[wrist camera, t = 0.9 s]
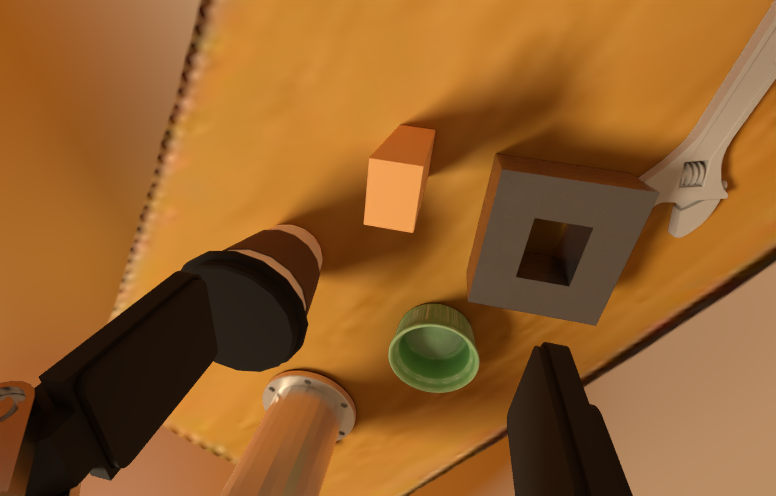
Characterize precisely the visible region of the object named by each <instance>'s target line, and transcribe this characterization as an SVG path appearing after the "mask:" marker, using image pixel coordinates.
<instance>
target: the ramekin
mask: <svg viewBox="0 0 776 496" xmlns="http://www.w3.org/2000/svg"><path fill="white" fill-rule="evenodd" d="M388 358H389V363H390V366H391V368H392V369H393V371H394V373H395V374H396V375H397V376H398V377H399V378H400V379H401V380H402V381H403V382H405V383H406V384H408V385H410V386H411V387H413V388H416V389H419V390H421V391H425V392H431V393H445V392H451V391H455V390H458V389H460V388H462V387H464V386H466V385H467V384H468V383H470V382H471V381H472V380H473V379H474V377H475V376H476V374H477V372H478V369H479V363H480V360H479V354H478V350H477V348H476V346H475V340H474V334H473V331H472V327H471V325H470V323H469V321H468V320H467V319H466V318H465V316H464V315H463V314H461V313H460V312H459V311H457V310H456V309H454V308H452V307H449V306H446V305H442V304H423V305H419V306H417V307H415V308H413V309H411V310H410V311H408V312H407V313H406V314H405V315H404V317H403V318H402V319H401V321H400V323H399V326H398V329H397V332H396V334H395V336H394V338H393V339H392V341H391V344H390V346H389V350H388Z"/></svg>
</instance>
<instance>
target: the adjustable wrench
mask: <svg viewBox="0 0 776 496" xmlns="http://www.w3.org/2000/svg"><path fill="white" fill-rule="evenodd" d="M775 79H776V0H774V2H773V3H772V5H771V7H770V8H769V10H768V11H767V13H766V15H765V16H764V18H763V19H762V21H761V22H760V24H759V26H758V27H757V29H756V30H755V32H754V34H753V35H752V37H751V38H750V40H749V41H748V43H747V45H746V46H745V48H744V49H743V51H742V53H741V54H740V56H739V57H738V59H737V61H736V62H735V64H734V65H733V67H732V68H731V70H730V72H729V73H728V75H727V76H726V78H725V80H724V81H723V83H722V84H721V86H720V87H719V89H718V91H717V92H716V94H715V95H714V97H713V99H712V100H711V102H710V103H709V105H708V107H707V108H706V110H705V111H704V113H703V114H702V116H701V118H700V119H699V121H698V122H697V124H696V126H695V127H694V129H693V130H692V131H691V133H690V134H689V135H688V137H687V138H686V139H685V140H684V141H683V142H682V143H681V144H680V145H679V146H678V147H677V148H676V149H675V150H673V151H672V152H671V153H670V154H669V155H668V156H666V157H665V158H664V159H663V160H662V161H660V162H659V163H658V164H657V165H655V166H654V167H653V168H651V169H650V170H649V171H647V172H646V173H644V174H643V175H641V176H640V177H639V178H638V179H640V180H641V181H643V182H644V183H646V184H647V185H649V186H650V187H652V188H653V189H655V190H656V191H658V192H659V193H660V194H659V196H658V198H657V200H656V203H655V205H654V206H656V205H658V204H660V203H665V202H675V203H676V204H677V205H674V206H673V208H672V213H671V218H670V223H669V227H668V232H669V233H670V234H672V235H673V236H674V237H683V236H685V235H687V234H689V233H690V232H692V231H693V230H695V229H696V228H697V227H699V226H700V225H701V224H702V223H703V222H704V221H705V220H706V219H707V218H708V217H709V216H710V214H711V213H712V212H713V210H714V209H715V208H716V206H717V205H718V203H719V201H720V199H726V198H728V194H727V193H726V191H725V189H726V188H727V182H726V181H725V180H721V164H722V159H723V156H724V154H725V152H726V149H727V147H728V145H729V144H730V142H731V140H732V139H733V137H734V136H735V134H736V133H737V132H738V130H739V129H740V128H741V126H742V125H743V123H744V122H745V121H746V119H747V118H748V116H749V115H750V114H751V112H752V111H753V110H754V108H755V107H756V105H757V104H758V103H759V101H760V100H761V98H762V97H763V96H764V94H765V93H766V92H767V90H768V89H769V87H770V86H771V85H772V83H773V82H774V80H775ZM692 161H694V162H692ZM697 161H700V162H697ZM686 162H687V163H686Z"/></svg>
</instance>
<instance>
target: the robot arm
mask: <svg viewBox="0 0 776 496" xmlns="http://www.w3.org/2000/svg"><path fill="white" fill-rule="evenodd" d="M217 352H218V346H217V340H216V335H215V329H214V323H213V318H212V312H211V306H210V301H209V295H208V289H207V284H206V282H205V281H203V280H202V277H201V276H200V275H198V274H194V273H189V272H184V271H177V272H175V273H173V274H172V275H171V276H170V277H168V278H167V279H166V280H164V281H163V282H162V283H160V284H159V285H158V286H156V287H155V288H154V289H153V290H151V291H150V292H149V293H147V294H146V295H145V296H143V297H142V298H141V299H140V300H138V301H137V302H136V303H134V304H133V305H132V306H130V307H129V308H128V309H126V310H125V311H124V312H123V313H121V314H120V315H119V316H117V317H116V318H115V319H113V320H112V321H111V322H109V323H108V324H107V325H106V326H104V327H103V328H102V329H100V330H99V331H98V332H96V333H95V334H94V335H93V336H91V337H90V338H89V339H87V340H86V341H85V342H83V343H82V344H81V345H80V346H79V347H77V348H76V349H74V350H73V351H72V352H70V353H69V354H68V355H66V356H65V357H64V358H63V359H61V360H60V361H59V362H57V363H56V364H55V365H53V366H52V367H51V368H49V369H48V370H47V371H45V372H44V373H43V374H42V375H40V376H39V379H40V380H41V382H42V383H40V384H39V385H38V386H37V387H35V388H33V387H32V385H31V384H29V383H26V382H23V381H8V382H3V383H0V496H79V493H80V486H81V481H82V480H83V479H84V478H85V477H86V476H87V474H89V472H90V474H91V475H92V476H96V477H99V478H103V479H107V480H112V479H113V478H114V476H115V475H116V474H117V473H118V471H119V470H120V469H121V468H125V467H127V466H128V465H129V464H130V463H131V462H132V461H133V460H134V459H135V457H136V456H137V455H138V454H139V452H140V451H141V450H142V449H143V447H144V446H145V445H146V443H148V441H149V440H150V439H151V437H152V436H153V435H154V434H155V433H156V431H157V430H158V429H159V428H160V426H161V425H162V424H163V423H164V421H165V420H166V419H167V418H168V417H169V415H170V414H171V413H172V412H173V410H174V409H175V408H176V407H177V405H178V404H179V403H180V402H181V400H182V399H183V398H184V397H185V395H186V394H187V393H188V392H189V390H190V389H191V388H192V387H193V386H194V384H195V383H196V382H197V381H198V379H199V378H200V377H201V376H202V374H203V373H204V372H205V371H206V369H207V368H208V367H209V366H210V364H211V363H212V362H213V361H214V359H215V357H216V355H217ZM262 399H263V405H264V408H265V411H266V413H265V415H264V417H263V418H262V420H261V422H260V424H259V426H258V427H257V429H256V431H255V433H254V435H253V436H252V438H251V440H250V442H249V444H248V446H247V447H246V449H245V451H244V453H243V455H242V456H241V458H240V460H239V462H238V464H237V466H236V467H235V469H234V471H233V473H232V475H231V476H230V478H229V480H228V482H227V484H226V486H225V488H224V489H223V491H222V493H221V495H220V496H319V494H320V490H321V487H322V484H323V481H324V478H325V475H326V472H327V469H328V466H329V462H330V459H331V456H332V453H333V450H334V447H335V444H336V441H338V440H341V439H342V438H344V437H346V436H347V435H348V434H349V433H350V432H351V430H352V429H353V427H354V423H355V420H356V408H355V405H354V403H353V401H352V399H351V398H350V396H349V395H348V393H347V392H346V391H345V390H344V389H343V388H342V387H341V386H339V385H338V384H337V383H335V382H334V381H332V380H330V379H328V378H327V377H324V376H322V375H319V374H316V373H312V372H309V371H288V372H283V373H281V374H279V375H276V376H275V377H274V378H272V379H271V380H270V382H269V383H268V384H267V386H266V388H265V390H264V392H263V397H262ZM507 430H508V438H509V446H510V455H511V464H512V472H513V479H514V489H515V496H633V495H632V493H631V490H630V487H629V485H628V483H627V480H626V477H625V474H624V472H623V469H622V467H621V464H620V461H619V459H618V456H617V454H616V451H615V448H614V446H613V443H612V440H611V438H610V435H609V433H608V430H607V428H606V425H605V423H604V420H603V417H602V415H601V413H600V411H599V409H598V408H597V407H596V406H595V405H591V404H589V402H588V399H587V396H586V393H585V391H584V388H583V385H582V382H581V379H580V377H579V374H578V371H577V368H576V365H575V363H574V360H573V357H572V354H571V352H570V349H569V348H568V347H567V346H563V345H558V344H553V343H547V342H544V343H543V344H542V345H541V347H539V346H535V347H534V349H533V351H532V353H531V356H530V358H529V361H528V363H527V366H526V368H525V371H524V373H523V376H522V378H521V381H520V383H519V386H518V388H517V391H516V393H515V396H514V398H513V401H512V403H511V406H510V408H509V411H508V415H507Z"/></svg>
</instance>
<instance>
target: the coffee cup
mask: <svg viewBox="0 0 776 496" xmlns="http://www.w3.org/2000/svg"><path fill="white" fill-rule="evenodd" d="M322 262H323V258H322V253H321V248H320V245H319V244H318V242H317V241H316V239H315V237H314V236H313V235H312V234H310V233H309V232H308V231H307V230H305V229H304V228H301V227H298V226H295V225H277V226H274V227H272V228H270V229H268V230H263V231H261V232H259V233H257V234H254V235H252V236H250V237H248V238H246V239H245V240H243V241H241V242H239V243H237V244H235V245H233V246H231V247H229V248H227V249H225V250H223V251H208V252H206V253H204V254H202V255H200V256H198V257H196V258H194V259H192V260H190V261H189V262H187V263H186V264H185V265H184V266H183V268H182V269H181V271H184V272H189V273H194V274H198V275H200V276H201V277H202V280H203V281H205V282H206V284H207V289H208V295H209V301H210V306H211V312H212V318H213V323H214V329H215V335H216V340H217V346H218V352H217V355H216V357H215V359H214V362H216V363H219V364H221V365H224V366H227V367H230V368H232V369H235V370H241V371H257V372H261V371H264V370H267V369H271V368H274V367H277V366H279V365H280V364H281V363H285V362H287V361H288V360H289V359H290V358H291V357H292V356H293V355H294V354H295V353H296V352H297V351H298V350H299V349H300V348H301V347H302V345H303V343H304V339H305V335H306V331H307V327H308V321H307V314H308V311H309V308H310V305H311V302H312V299H313V296H314V293H315V290H316V287H317V284H318V280H319V276H320V270H321V266H322Z"/></svg>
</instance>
